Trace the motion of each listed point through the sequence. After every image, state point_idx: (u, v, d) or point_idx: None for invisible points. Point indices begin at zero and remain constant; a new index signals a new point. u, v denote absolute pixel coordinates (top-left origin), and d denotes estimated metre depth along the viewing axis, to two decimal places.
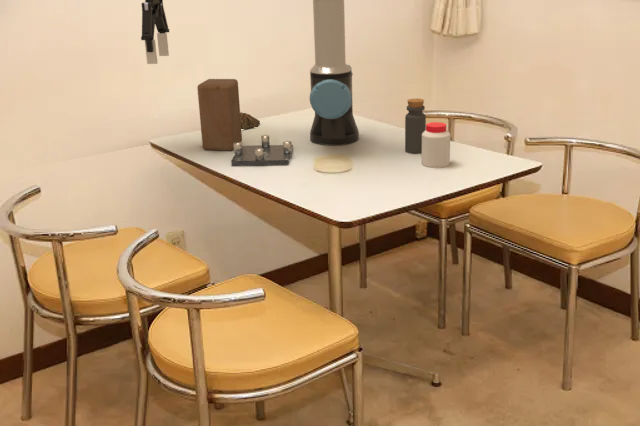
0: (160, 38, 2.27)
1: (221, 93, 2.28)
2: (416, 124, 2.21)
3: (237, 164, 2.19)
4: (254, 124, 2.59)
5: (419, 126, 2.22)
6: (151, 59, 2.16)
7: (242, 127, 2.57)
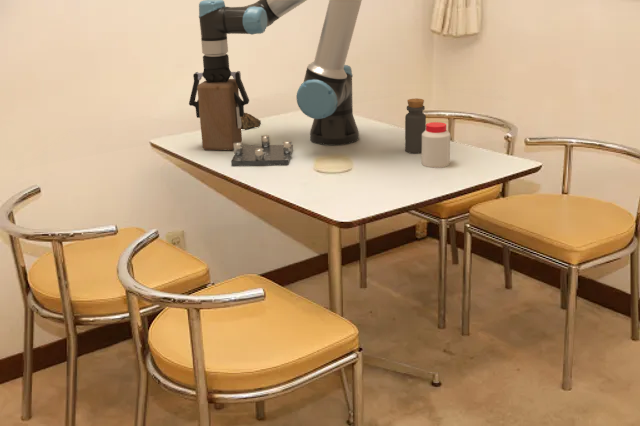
0: None
1: (221, 93, 2.28)
2: (416, 124, 2.21)
3: (237, 164, 2.19)
4: (255, 124, 2.60)
5: (419, 126, 2.22)
6: None
7: (243, 127, 2.57)
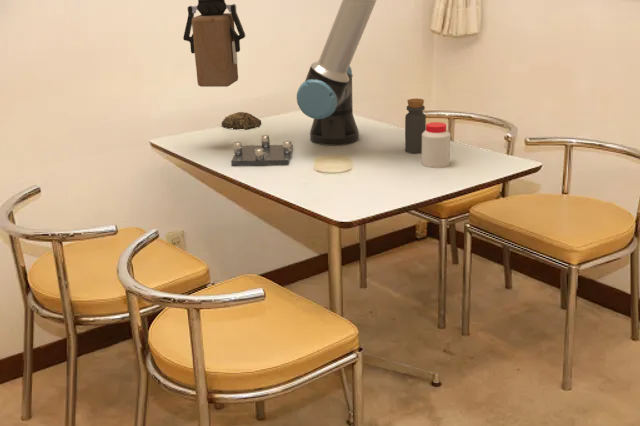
0: None
1: (216, 26, 2.21)
2: (416, 124, 2.21)
3: (237, 164, 2.19)
4: (255, 124, 2.60)
5: (419, 126, 2.22)
6: None
7: (243, 127, 2.57)
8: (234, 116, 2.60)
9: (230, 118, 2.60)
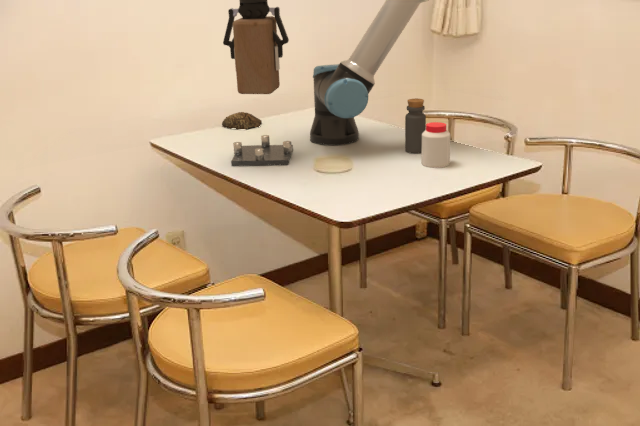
0: None
1: (259, 30, 2.08)
2: (416, 124, 2.21)
3: (237, 164, 2.19)
4: (256, 124, 2.60)
5: (419, 126, 2.22)
6: None
7: (244, 127, 2.57)
8: (235, 116, 2.60)
9: (231, 118, 2.60)
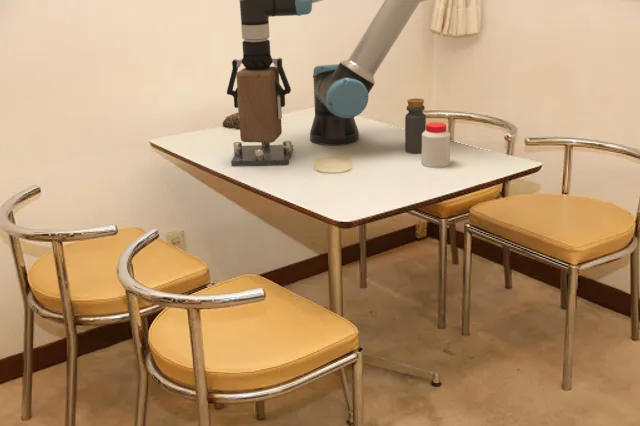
0: None
1: (262, 81, 2.13)
2: (416, 124, 2.21)
3: (237, 164, 2.19)
4: None
5: (419, 126, 2.22)
6: None
7: None
8: (235, 116, 2.60)
9: (231, 118, 2.60)
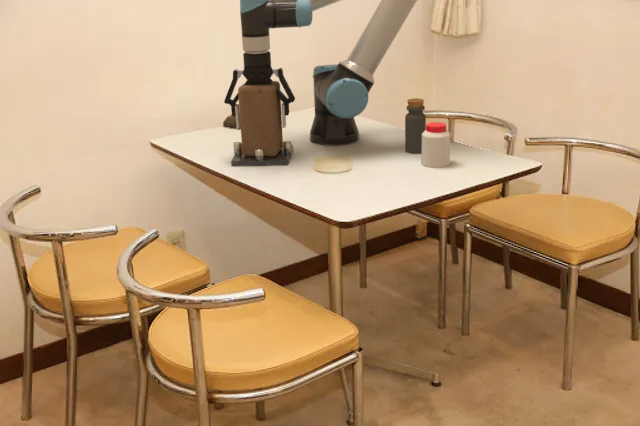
0: None
1: (264, 96, 2.14)
2: (416, 124, 2.21)
3: (237, 164, 2.19)
4: None
5: (419, 126, 2.22)
6: None
7: None
8: None
9: (232, 118, 2.60)
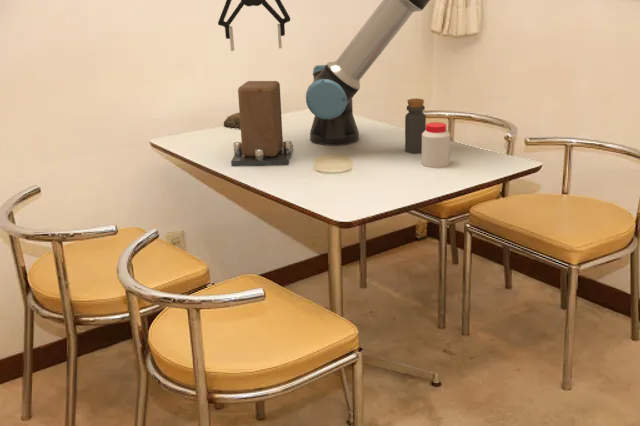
0: None
1: (264, 96, 2.14)
2: (416, 124, 2.21)
3: (237, 164, 2.19)
4: None
5: (419, 126, 2.22)
6: None
7: None
8: (236, 116, 2.60)
9: (232, 118, 2.60)
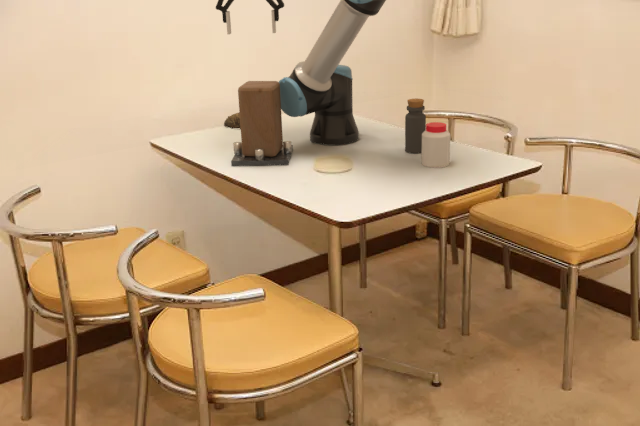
0: None
1: (264, 96, 2.14)
2: (416, 124, 2.21)
3: (237, 164, 2.19)
4: None
5: (419, 126, 2.22)
6: None
7: None
8: (237, 116, 2.61)
9: (233, 118, 2.61)
